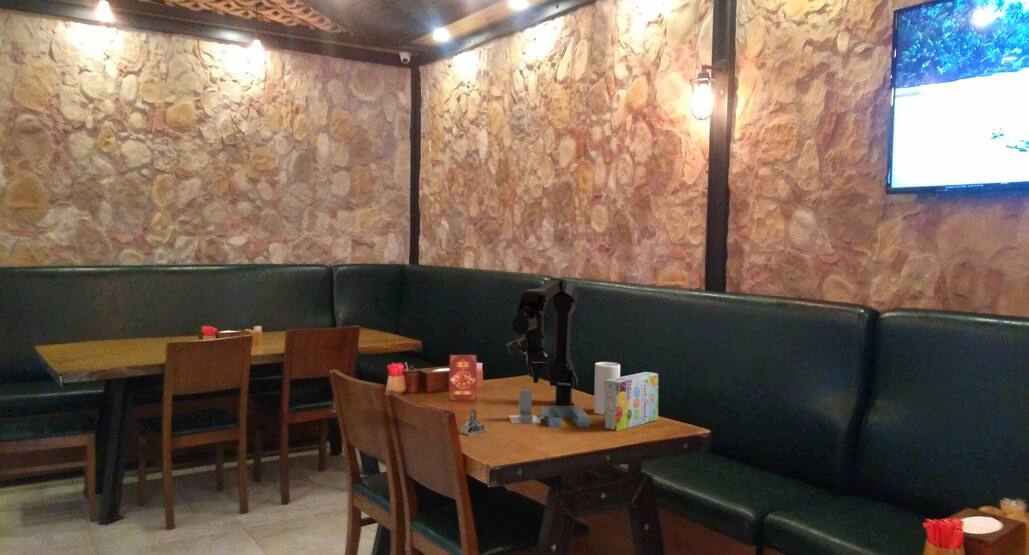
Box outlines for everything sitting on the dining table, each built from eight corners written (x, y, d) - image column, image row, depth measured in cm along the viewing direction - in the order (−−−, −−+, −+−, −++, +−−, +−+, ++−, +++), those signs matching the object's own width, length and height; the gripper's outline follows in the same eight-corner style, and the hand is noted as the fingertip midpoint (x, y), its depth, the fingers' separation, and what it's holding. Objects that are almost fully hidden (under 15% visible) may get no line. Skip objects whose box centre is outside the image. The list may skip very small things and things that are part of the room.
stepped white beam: (518, 417, 250) (518, 389, 249) (529, 417, 250) (530, 388, 249) (521, 422, 243) (521, 393, 242) (532, 422, 243) (533, 393, 243)
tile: (508, 417, 252) (508, 415, 252) (536, 416, 253) (536, 415, 253) (511, 424, 243) (511, 422, 243) (540, 423, 244) (541, 422, 244)
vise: (535, 415, 254) (535, 406, 254) (579, 415, 256) (579, 406, 256) (542, 427, 240) (542, 417, 239) (589, 427, 241) (589, 417, 241)
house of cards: (471, 427, 240) (471, 402, 239) (491, 433, 233) (491, 407, 233) (448, 432, 233) (448, 406, 233) (468, 438, 227) (468, 412, 227)
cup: (618, 415, 256) (619, 366, 255) (592, 414, 258) (593, 365, 257) (619, 410, 264) (621, 362, 263) (595, 408, 266) (596, 361, 265)
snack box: (644, 417, 255) (645, 371, 254) (658, 420, 251) (660, 373, 250) (602, 428, 240) (603, 379, 239) (616, 431, 236) (618, 381, 235)
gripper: (505, 326, 256) (505, 374, 257) (511, 335, 238) (511, 386, 239) (539, 326, 257) (539, 373, 259) (548, 334, 239) (547, 386, 240)
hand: (533, 379), depth 249 cm, fingers open, 9 cm apart
